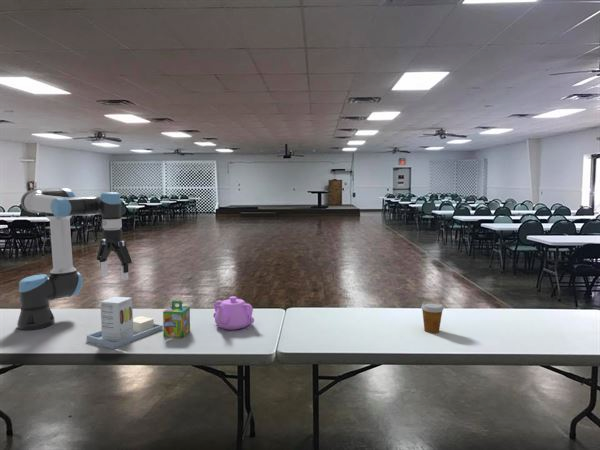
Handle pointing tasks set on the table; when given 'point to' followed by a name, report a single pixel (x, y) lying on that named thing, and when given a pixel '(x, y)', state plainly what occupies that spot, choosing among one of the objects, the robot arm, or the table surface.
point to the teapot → (233, 313)
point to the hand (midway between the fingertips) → (114, 278)
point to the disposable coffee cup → (432, 316)
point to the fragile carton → (142, 324)
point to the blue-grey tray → (98, 340)
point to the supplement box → (116, 318)
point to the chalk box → (176, 320)
